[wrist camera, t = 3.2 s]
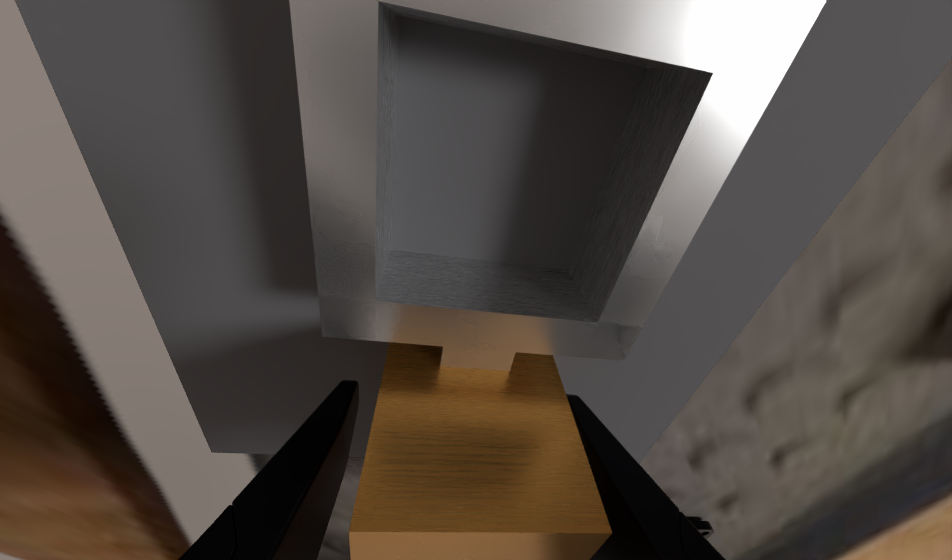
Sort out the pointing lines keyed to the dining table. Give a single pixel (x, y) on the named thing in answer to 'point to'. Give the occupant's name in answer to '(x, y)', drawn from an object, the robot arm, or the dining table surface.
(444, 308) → the grey and orange frame
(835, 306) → the dining table surface
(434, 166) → the plate
